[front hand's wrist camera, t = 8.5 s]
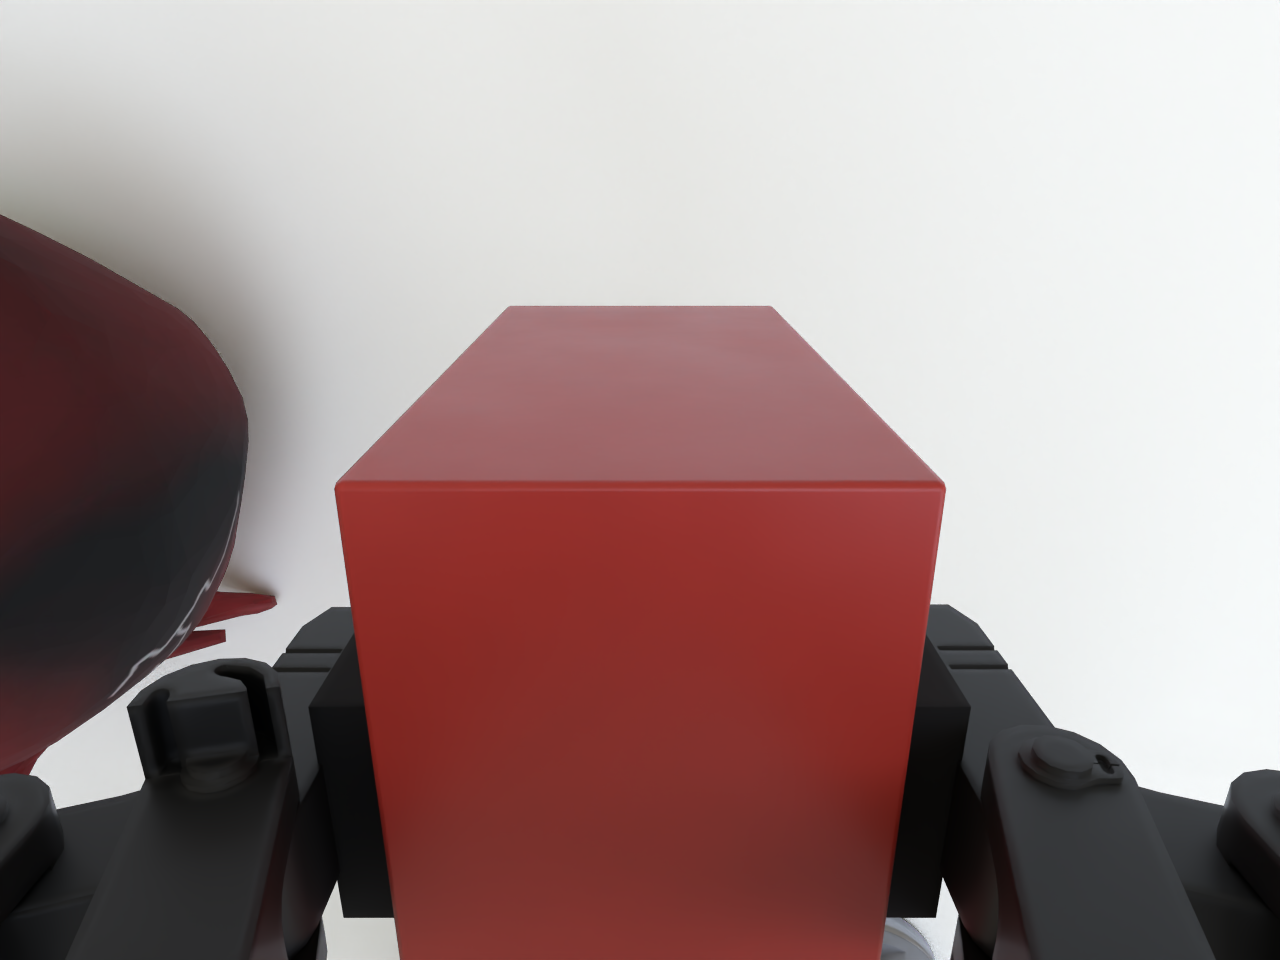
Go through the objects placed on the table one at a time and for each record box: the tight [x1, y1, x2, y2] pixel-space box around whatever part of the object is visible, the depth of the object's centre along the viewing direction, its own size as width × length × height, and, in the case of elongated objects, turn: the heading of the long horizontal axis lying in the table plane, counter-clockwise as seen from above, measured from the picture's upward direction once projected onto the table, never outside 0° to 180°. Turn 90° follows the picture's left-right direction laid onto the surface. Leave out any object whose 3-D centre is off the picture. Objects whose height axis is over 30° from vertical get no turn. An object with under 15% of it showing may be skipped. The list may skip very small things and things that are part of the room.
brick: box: [334, 306, 946, 960], centre depth 12 cm, size 5×8×9 cm, turn 0°
